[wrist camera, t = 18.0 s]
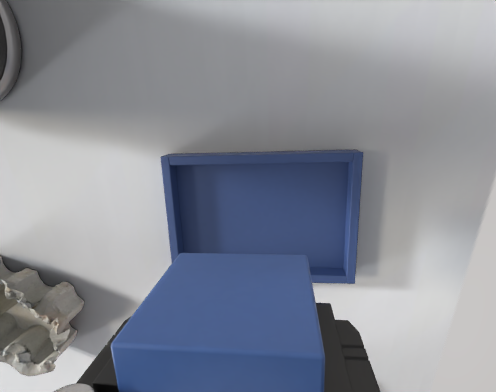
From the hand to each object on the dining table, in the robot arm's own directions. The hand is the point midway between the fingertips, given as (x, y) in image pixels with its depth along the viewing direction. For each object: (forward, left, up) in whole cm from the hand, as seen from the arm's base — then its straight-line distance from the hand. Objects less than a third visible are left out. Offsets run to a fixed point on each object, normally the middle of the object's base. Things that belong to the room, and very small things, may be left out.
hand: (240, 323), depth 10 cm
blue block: (0, 0, -1) cm, 1 cm away
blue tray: (0, 0, -12) cm, 12 cm away
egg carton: (-21, -8, -12) cm, 26 cm away
